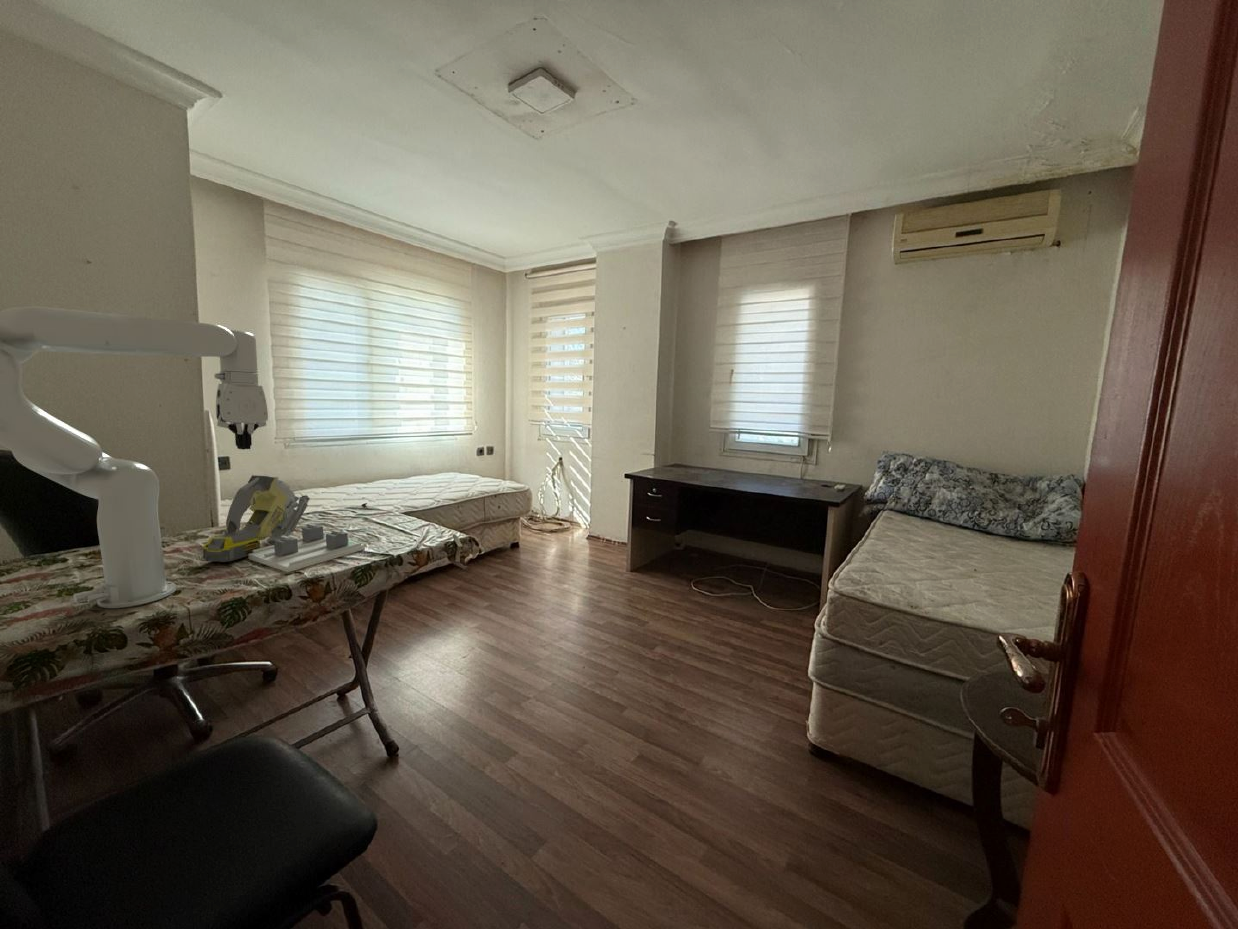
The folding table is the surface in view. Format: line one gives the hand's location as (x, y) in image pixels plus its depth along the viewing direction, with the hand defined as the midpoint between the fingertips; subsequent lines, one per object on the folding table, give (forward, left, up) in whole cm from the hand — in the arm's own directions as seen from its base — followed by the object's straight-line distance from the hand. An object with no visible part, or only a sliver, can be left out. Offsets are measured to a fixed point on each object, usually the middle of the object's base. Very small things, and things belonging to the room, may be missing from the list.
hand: (244, 448), depth 124 cm
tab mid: (+6, -5, -30) cm, 31 cm away
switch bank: (+12, -5, -32) cm, 34 cm away
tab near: (+17, -11, -30) cm, 36 cm away
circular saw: (+9, +14, -32) cm, 36 cm away
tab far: (+17, +1, -30) cm, 35 cm away
